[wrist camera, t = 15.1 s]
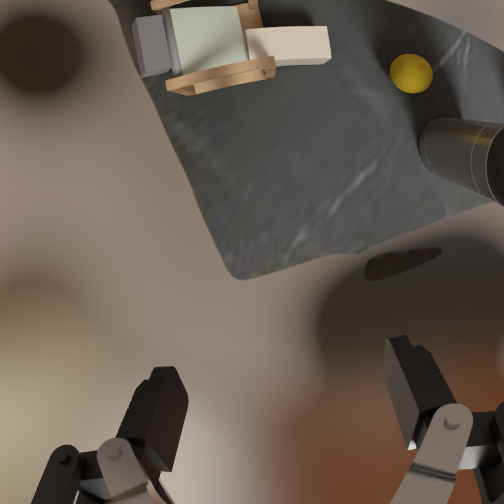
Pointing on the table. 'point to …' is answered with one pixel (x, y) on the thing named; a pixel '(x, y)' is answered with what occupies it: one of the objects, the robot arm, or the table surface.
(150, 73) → the door
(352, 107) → the table surface
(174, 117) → the table surface
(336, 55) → the table surface
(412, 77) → the lemon
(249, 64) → the frame
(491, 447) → the robot arm
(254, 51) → the block
